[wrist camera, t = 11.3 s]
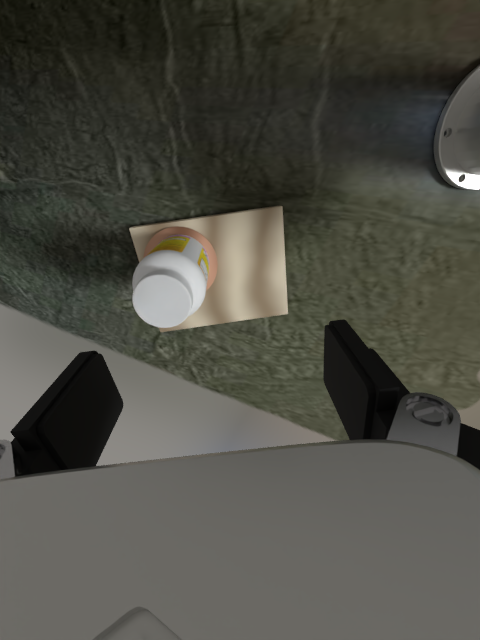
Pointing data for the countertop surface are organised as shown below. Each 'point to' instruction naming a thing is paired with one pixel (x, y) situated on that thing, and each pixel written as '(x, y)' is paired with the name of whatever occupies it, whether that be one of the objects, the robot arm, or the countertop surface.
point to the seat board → (231, 263)
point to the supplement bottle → (171, 281)
